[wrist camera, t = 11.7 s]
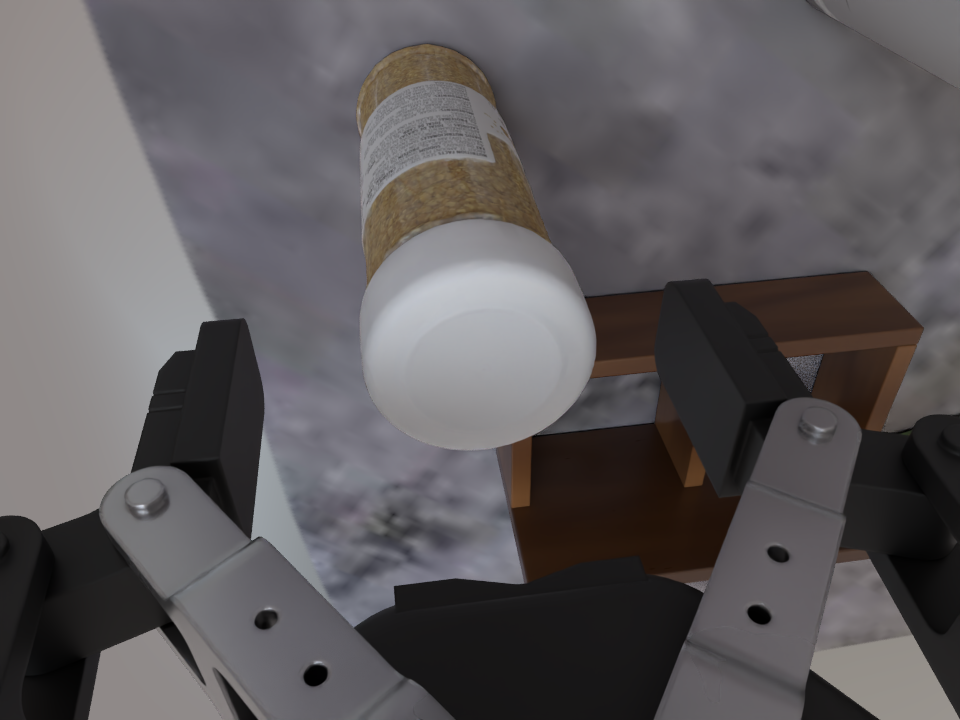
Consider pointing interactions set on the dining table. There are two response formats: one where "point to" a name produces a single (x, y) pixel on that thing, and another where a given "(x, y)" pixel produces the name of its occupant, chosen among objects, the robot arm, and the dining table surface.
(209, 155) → the dining table surface
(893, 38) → the travel mug
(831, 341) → the spice rack
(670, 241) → the dining table surface
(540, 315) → the brown spice jar
